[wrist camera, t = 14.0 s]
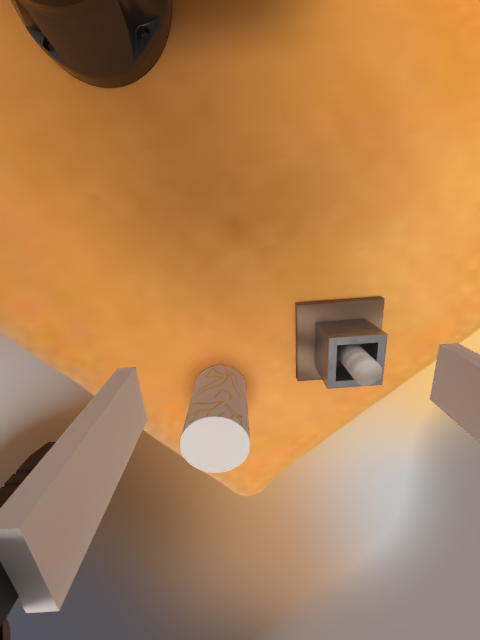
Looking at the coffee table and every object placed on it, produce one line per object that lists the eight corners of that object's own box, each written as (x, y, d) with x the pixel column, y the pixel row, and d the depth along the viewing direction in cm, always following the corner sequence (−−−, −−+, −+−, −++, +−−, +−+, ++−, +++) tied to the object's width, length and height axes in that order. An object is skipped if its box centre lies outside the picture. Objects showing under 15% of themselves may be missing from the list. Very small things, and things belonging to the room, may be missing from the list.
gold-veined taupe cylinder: (247, 365, 41) (251, 416, 30) (245, 410, 44) (248, 472, 33) (193, 364, 41) (178, 416, 30) (195, 409, 44) (181, 472, 33)
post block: (295, 303, 38) (315, 327, 29) (380, 296, 38) (428, 319, 29) (296, 377, 42) (314, 420, 33) (373, 371, 42) (414, 413, 32)
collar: (315, 322, 38) (329, 338, 32) (364, 318, 38) (387, 334, 32) (314, 366, 40) (327, 388, 35) (361, 362, 40) (382, 384, 35)
